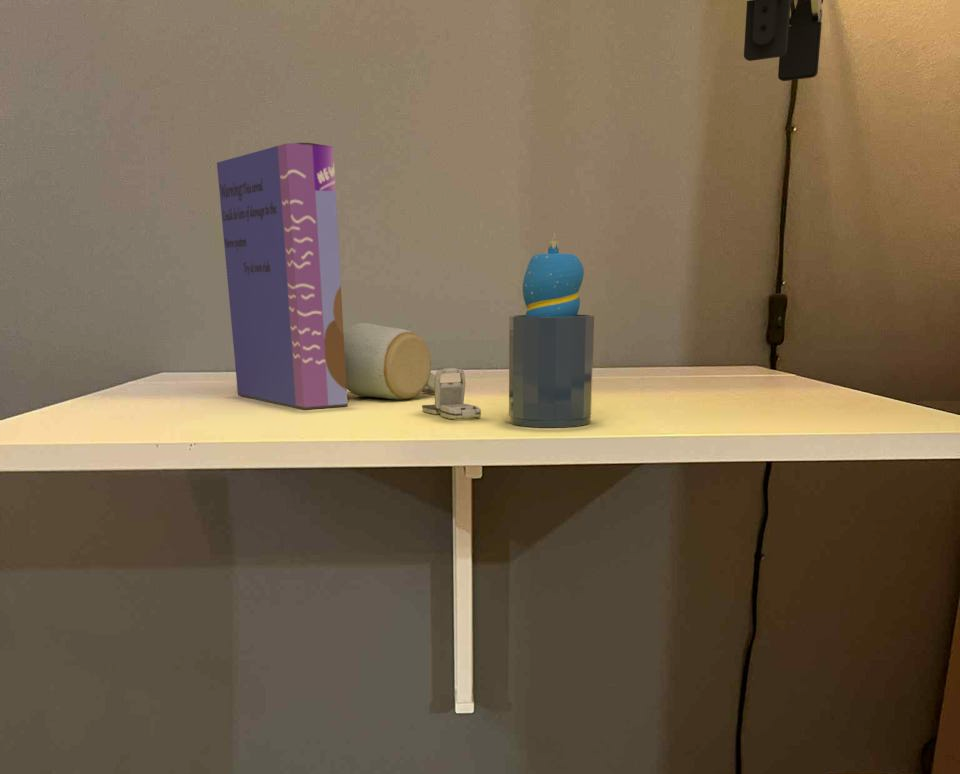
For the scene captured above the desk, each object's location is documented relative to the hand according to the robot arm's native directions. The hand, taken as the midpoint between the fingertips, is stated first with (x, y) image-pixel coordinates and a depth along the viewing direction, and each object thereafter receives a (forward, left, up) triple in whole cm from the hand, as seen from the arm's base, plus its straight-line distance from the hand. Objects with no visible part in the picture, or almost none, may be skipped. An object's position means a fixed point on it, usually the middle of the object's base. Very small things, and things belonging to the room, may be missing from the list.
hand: (781, 68), depth 80 cm
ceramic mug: (+39, +1, -28) cm, 48 cm away
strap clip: (+25, +11, -28) cm, 40 cm away
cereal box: (+47, +9, -28) cm, 56 cm away
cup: (+15, +12, -28) cm, 34 cm away
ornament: (+15, +12, -28) cm, 33 cm away
